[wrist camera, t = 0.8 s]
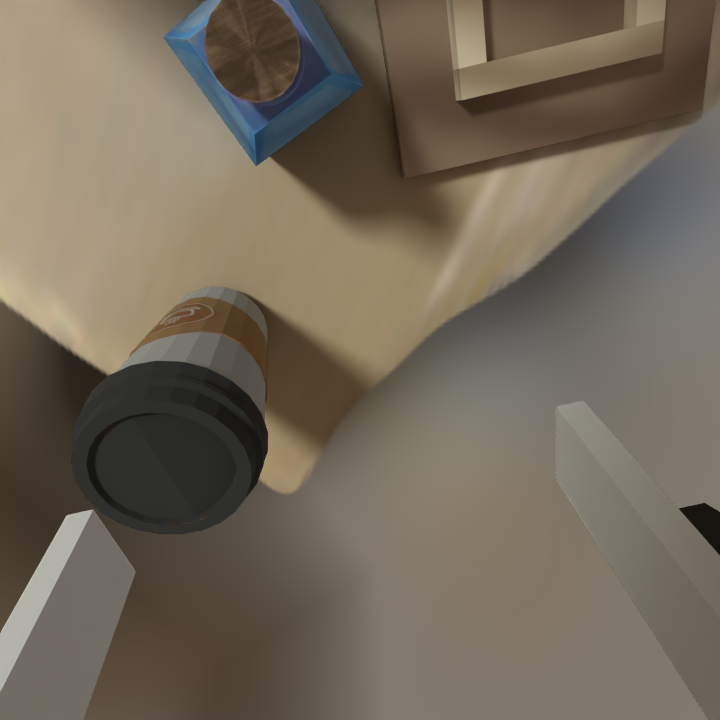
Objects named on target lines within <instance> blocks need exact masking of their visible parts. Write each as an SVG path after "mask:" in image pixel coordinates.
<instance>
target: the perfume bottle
mask: <svg viewBox="0 0 720 720" xmlns="http://www.w3.org/2000/svg"><path fill="white" fill-rule="evenodd" d="M164 39H165V40H166V42H167V43H168V44H169V46H170V47H171V49H172V50H173V51H174V53H175V54H176V55H177V57H178V58H179V60H180V61H181V62H182V64H183V65H184V67H185V68H186V69H187V71H188V72H189V74H190V75H191V76H192V78H193V79H194V81H195V82H196V83H197V85H198V86H199V87H200V89H201V90H202V92H203V93H204V94H205V96H206V97H207V99H208V100H209V101H210V103H211V104H212V106H213V107H214V108H215V110H216V111H217V113H218V114H219V115H220V117H221V118H222V119H223V121H224V122H225V124H226V125H227V126H228V128H229V129H230V131H231V132H232V133H233V135H234V136H235V138H236V139H237V140H238V142H239V143H240V145H241V146H242V147H243V149H244V150H245V151H246V153H247V154H248V156H249V157H250V158H251V160H252V161H253V163H254V164H255V165H256V166H257V165H259V164H260V163H261V162H263V161H264V160H265V159H267V158H268V157H269V156H271V155H272V154H273V153H275V152H276V151H277V150H279V149H280V148H281V147H283V146H284V145H285V144H287V143H288V142H289V141H291V140H292V139H293V138H295V137H296V136H297V135H299V134H300V133H301V132H303V131H304V130H305V129H307V128H308V127H309V126H310V125H312V124H313V123H314V122H316V121H317V120H318V119H320V118H321V117H322V116H324V115H325V114H326V113H328V112H329V111H330V110H332V109H333V108H334V107H336V106H337V105H338V104H340V103H341V102H342V101H344V100H345V99H346V98H348V97H349V96H350V95H352V94H353V93H354V92H356V91H357V90H358V89H360V88H361V87H362V86H364V85H363V84H362V82H361V80H360V78H359V76H358V75H357V73H356V71H355V69H354V68H353V66H352V64H351V62H350V61H349V59H348V57H347V55H346V53H345V52H344V50H343V48H342V46H341V45H340V43H339V41H338V39H337V37H336V36H335V34H334V32H333V30H332V29H331V27H330V25H329V23H328V22H327V20H326V18H325V16H324V14H323V13H322V11H321V9H320V7H319V6H318V4H317V2H316V0H206V1H204V2H203V3H202V4H201V5H200V6H199V7H197V8H196V9H195V10H194V11H193V12H192V13H190V14H189V15H188V16H187V17H186V18H185V19H183V20H182V21H181V22H180V23H179V24H178V25H176V26H175V27H174V28H173V29H172V30H171V31H169V32H168V33H167V34H166V35H165V36H164Z"/></svg>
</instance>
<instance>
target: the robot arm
mask: <svg viewBox="0 0 720 720" xmlns="http://www.w3.org/2000/svg"><path fill="white" fill-rule="evenodd" d="M556 480H557V482H558V484H559V485H560V487H561V488H562V490H563V492H564V493H565V495H566V496H567V498H568V499H569V501H570V503H571V504H572V506H573V507H574V509H575V511H576V512H577V513H578V515H579V517H580V518H581V520H582V522H583V523H584V525H585V526H586V528H587V529H588V531H589V533H590V534H591V536H592V537H593V539H594V541H595V542H596V544H597V545H598V547H599V548H600V550H601V552H602V553H603V555H604V556H605V558H606V560H607V561H608V563H609V564H610V566H611V567H612V569H613V570H614V572H615V574H616V575H617V577H618V578H619V580H620V582H621V583H622V585H623V586H624V588H625V590H626V591H627V592H628V594H629V596H630V597H631V599H632V601H633V602H634V604H635V605H636V607H637V608H638V610H639V612H640V613H641V615H642V616H643V618H644V620H645V621H646V622H647V624H648V626H649V627H650V629H651V630H652V632H653V634H654V635H655V637H656V638H657V640H658V642H659V643H660V645H661V646H662V648H663V650H664V651H665V653H666V654H667V656H668V657H669V659H670V661H671V662H672V664H673V665H674V667H675V669H676V670H677V672H678V673H679V675H680V676H681V678H682V680H683V681H684V683H685V684H686V686H687V687H688V689H689V691H690V692H691V694H692V695H693V697H694V698H695V700H696V702H697V703H698V705H699V706H700V708H701V709H702V711H703V713H704V714H705V716H706V717H707V719H708V720H720V512H719V511H717V510H715V509H714V508H712V507H710V506H709V505H707V504H705V503H703V504H698V505H693V506H688V507H684V508H679V509H678V508H677V506H676V505H675V504H674V503H673V502H672V501H671V500H670V498H669V497H668V496H667V495H666V494H665V493H664V492H663V491H662V489H661V488H660V487H659V486H658V485H657V484H656V483H655V481H654V480H653V479H652V478H651V477H650V476H649V475H648V473H647V472H646V471H645V470H644V469H643V468H642V467H641V466H640V464H639V463H638V462H637V461H636V460H635V459H634V458H633V456H632V455H631V454H630V453H629V452H628V451H627V450H626V448H625V447H624V446H623V445H622V444H621V443H620V442H619V441H618V439H617V438H616V437H615V436H614V435H613V434H612V433H611V431H610V430H609V429H608V428H607V427H606V426H605V425H604V424H603V422H602V421H601V420H600V419H599V418H598V417H597V416H596V414H595V413H594V412H593V411H592V410H591V409H590V408H589V406H588V405H587V404H586V403H585V402H584V401H579V402H575V403H570V404H566V405H561V406H557V407H556ZM135 572H136V571H135V570H134V568H133V567H132V565H131V564H130V562H129V561H128V560H127V558H126V557H125V555H124V554H123V552H122V551H121V549H120V548H119V546H118V545H117V544H116V542H115V541H114V539H113V538H112V536H111V535H110V533H109V532H108V530H107V529H106V527H105V526H104V524H103V523H102V521H101V520H100V519H99V517H98V516H97V514H96V513H95V511H94V510H89V511H84V512H80V513H75V514H71V515H67V516H66V518H65V519H64V521H63V523H62V525H61V527H60V528H59V530H58V532H57V534H56V536H55V537H54V539H53V541H52V543H51V544H50V546H49V548H48V550H47V552H46V553H45V555H44V557H43V558H42V560H41V562H40V564H39V566H38V567H37V569H36V571H35V573H34V574H33V576H32V578H31V580H30V582H29V583H28V585H27V587H26V589H25V590H24V592H23V594H22V596H21V597H20V599H19V601H18V603H17V604H16V606H15V608H14V610H13V612H12V613H11V615H10V617H9V619H8V621H7V622H6V624H5V626H4V628H3V629H2V631H1V633H0V720H83V718H84V715H85V712H86V710H87V707H88V704H89V701H90V699H91V696H92V693H93V690H94V687H95V684H96V682H97V679H98V676H99V673H100V671H101V668H102V665H103V662H104V659H105V657H106V654H107V651H108V648H109V645H110V643H111V640H112V636H113V634H114V631H115V628H116V626H117V623H118V620H119V617H120V614H121V612H122V609H123V606H124V603H125V600H126V598H127V594H128V592H129V589H130V586H131V583H132V581H133V578H134V575H135Z"/></svg>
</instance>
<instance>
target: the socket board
mask: <svg viewBox="0 0 720 720" xmlns="http://www.w3.org/2000/svg"><path fill="white" fill-rule="evenodd" d="M375 4H376V10H377V16H378V23H379V29H380V36H381V42H382V48H383V55H384V61H385V67H386V74H387V80H388V87H389V93H390V99H391V106H392V112H393V118H394V125H395V131H396V138H397V144H398V150H399V157H400V163H401V169H402V176H403V177H404V178H405V179H406V178H410V177H415V176H419V175H423V174H428V173H432V172H436V171H440V170H445V169H449V168H453V167H457V166H462V165H466V164H470V163H474V162H479V161H483V160H487V159H491V158H496V157H500V156H504V155H508V154H513V153H517V152H521V151H526V150H530V149H534V148H538V147H543V146H547V145H551V144H555V143H560V142H564V141H568V140H572V139H577V138H581V137H585V136H589V135H594V134H598V133H602V132H607V131H611V130H615V129H619V128H624V127H628V126H632V125H636V124H641V123H645V122H649V121H653V120H658V119H662V118H666V117H670V116H675V115H679V114H683V113H687V112H692V111H696V110H700V109H702V104H703V96H704V87H705V79H706V71H707V62H708V54H709V46H710V37H711V29H712V20H713V12H714V4H715V0H375Z"/></svg>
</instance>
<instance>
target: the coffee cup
mask: <svg viewBox="0 0 720 720" xmlns="http://www.w3.org/2000/svg"><path fill="white" fill-rule="evenodd" d="M267 371H268V347H267V324H266V321H265V317H264V315H263V314H262V312H261V311H260V309H259V307H258V306H257V305H256V304H255V303H254V302H253V301H252V300H251V299H250V298H249V297H247V296H245V295H243V294H242V293H240V292H238V291H236V290H232V289H229V288H226V287H207V288H202V289H198V290H196V291H194V292H192V293H190V294H188V295H187V296H186V297H185V298H184V299H182V300H181V301H180V302H179V303H178V304H177V305H176V306H175V307H174V308H173V309H172V310H171V311H170V312H169V313H168V314H167V315H166V316H164V318H163V319H162V320H161V321H160V322H159V323H158V324H157V325H156V326H155V327H154V328H153V329H152V331H151V332H150V333H149V334H148V335H147V336H146V337H145V338H144V339H143V340H142V341H141V342H140V343H139V345H138V346H137V347H136V348H135V349H134V350H133V351H132V352H131V354H130V356H129V358H128V359H127V360H126V361H125V363H124V364H123V365H122V366H121V367H120V368H119V369H118V370H117V371H116V372H115V373H113V374H111V375H109V376H108V377H107V378H106V379H105V380H104V381H102V382H101V383H100V384H99V385H98V386H97V387H96V388H95V389H94V390H93V391H92V393H91V394H90V396H89V398H88V400H87V402H86V403H85V405H84V407H83V410H82V412H81V414H80V416H79V418H78V419H77V421H76V423H75V425H74V433H73V440H72V447H73V452H72V459H71V464H72V469H73V473H74V478H75V481H76V483H77V484H78V486H79V487H80V489H81V491H82V493H83V494H84V496H85V497H86V498H87V499H88V500H89V501H90V502H91V503H92V504H93V505H94V506H95V507H96V508H97V509H98V510H99V511H100V512H102V513H103V514H105V515H107V516H108V517H110V518H112V519H113V520H115V521H116V522H118V523H121V524H123V525H126V526H129V527H131V528H134V529H137V530H140V531H147V532H152V533H157V534H185V533H190V532H195V531H201V530H204V529H206V528H209V527H211V526H214V525H216V524H218V523H221V522H222V521H223V520H225V519H226V518H227V517H229V516H230V515H231V514H233V513H234V512H235V511H236V510H237V509H238V507H239V506H240V505H241V504H242V502H243V501H244V500H245V498H246V497H247V496H248V494H249V493H250V492H251V491H252V489H253V488H254V487H255V485H256V484H257V482H258V479H259V476H260V473H261V470H262V468H263V464H264V460H265V457H266V455H267V452H268V431H267V428H266V425H265V403H266V400H267Z"/></svg>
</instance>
